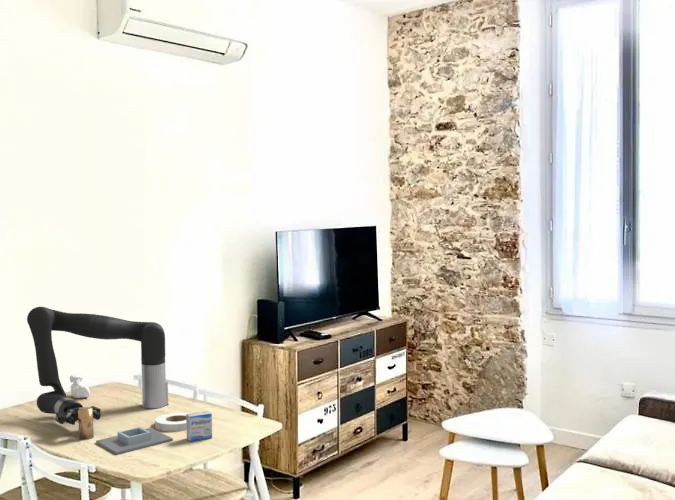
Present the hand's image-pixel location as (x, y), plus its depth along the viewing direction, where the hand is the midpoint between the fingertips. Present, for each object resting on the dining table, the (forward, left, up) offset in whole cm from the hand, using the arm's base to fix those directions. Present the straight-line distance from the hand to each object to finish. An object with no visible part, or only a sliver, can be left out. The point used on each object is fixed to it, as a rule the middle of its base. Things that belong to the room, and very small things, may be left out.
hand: (86, 419), depth 241 cm
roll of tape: (-30, +8, -7) cm, 32 cm away
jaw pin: (0, -1, -7) cm, 7 cm away
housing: (-10, +15, -7) cm, 19 cm away
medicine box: (-28, +27, -7) cm, 40 cm away
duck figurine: (-19, -55, -7) cm, 58 cm away
